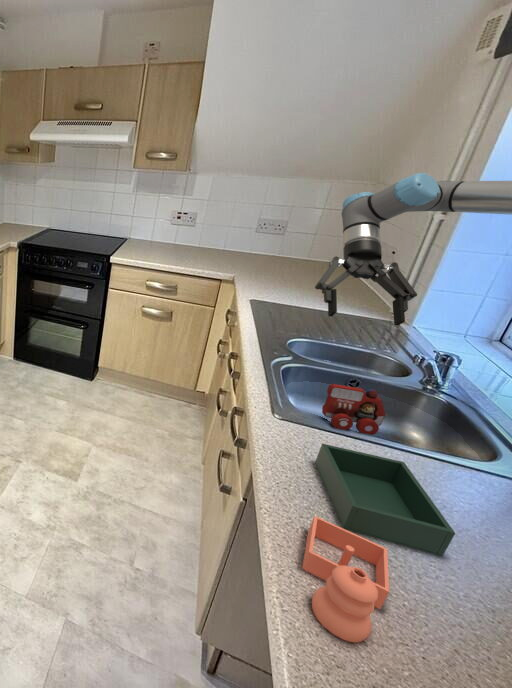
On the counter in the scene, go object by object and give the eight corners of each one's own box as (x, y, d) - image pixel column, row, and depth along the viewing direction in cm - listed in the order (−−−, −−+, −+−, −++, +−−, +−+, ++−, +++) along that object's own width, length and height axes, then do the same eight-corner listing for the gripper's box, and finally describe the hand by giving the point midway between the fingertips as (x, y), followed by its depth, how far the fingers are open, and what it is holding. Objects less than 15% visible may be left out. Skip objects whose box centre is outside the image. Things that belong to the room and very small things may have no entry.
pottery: (307, 533, 72) (324, 490, 69) (378, 567, 67) (400, 522, 63) (293, 615, 59) (313, 567, 56) (379, 666, 54) (408, 616, 50)
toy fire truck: (385, 439, 97) (401, 401, 93) (323, 428, 100) (336, 391, 97) (370, 422, 103) (385, 386, 99) (313, 411, 107) (325, 377, 103)
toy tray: (393, 484, 84) (404, 461, 82) (441, 558, 68) (455, 533, 66) (313, 465, 88) (322, 443, 86) (342, 530, 73) (352, 505, 71)
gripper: (411, 259, 108) (418, 333, 101) (300, 248, 116) (300, 316, 109) (431, 243, 102) (440, 321, 94) (312, 233, 110) (312, 304, 102)
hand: (365, 318), depth 102 cm, fingers open, 13 cm apart
